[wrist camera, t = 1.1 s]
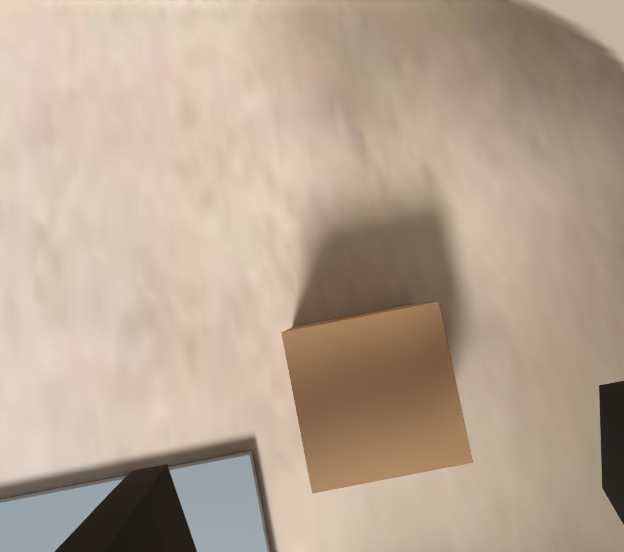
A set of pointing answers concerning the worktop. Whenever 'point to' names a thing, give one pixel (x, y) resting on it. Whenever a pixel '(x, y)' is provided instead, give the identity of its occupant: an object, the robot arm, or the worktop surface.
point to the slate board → (192, 494)
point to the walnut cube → (376, 396)
